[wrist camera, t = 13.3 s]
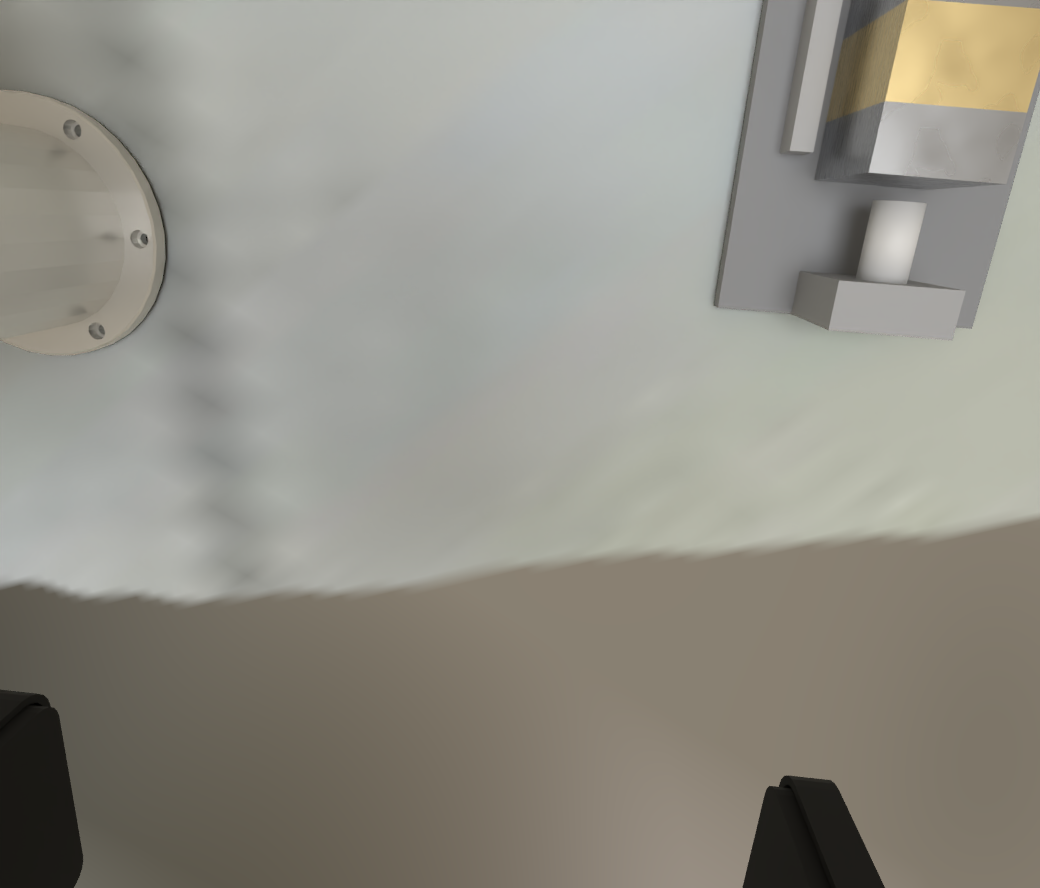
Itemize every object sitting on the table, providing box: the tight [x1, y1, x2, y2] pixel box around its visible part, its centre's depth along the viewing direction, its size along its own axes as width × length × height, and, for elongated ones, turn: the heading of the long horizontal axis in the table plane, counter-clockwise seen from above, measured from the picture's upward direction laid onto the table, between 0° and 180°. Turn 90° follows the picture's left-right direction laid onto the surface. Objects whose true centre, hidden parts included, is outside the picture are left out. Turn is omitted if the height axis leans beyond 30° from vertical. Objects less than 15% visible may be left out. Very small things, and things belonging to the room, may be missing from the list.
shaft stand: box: [714, 0, 1040, 340], centre depth 28 cm, size 20×12×6 cm, turn 176°
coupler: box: [814, 0, 1040, 190], centre depth 27 cm, size 8×5×6 cm, turn 175°
